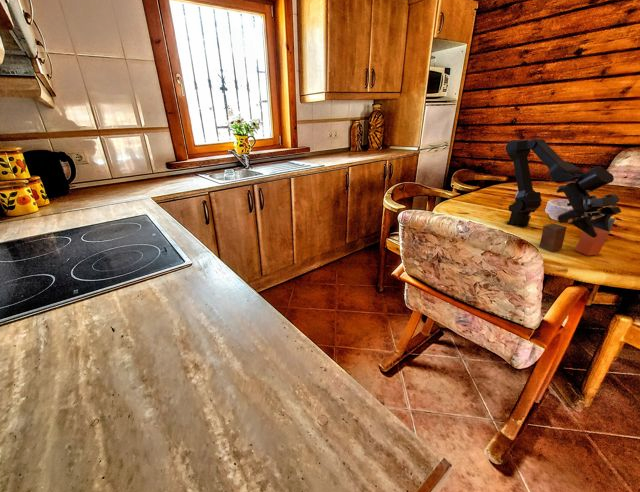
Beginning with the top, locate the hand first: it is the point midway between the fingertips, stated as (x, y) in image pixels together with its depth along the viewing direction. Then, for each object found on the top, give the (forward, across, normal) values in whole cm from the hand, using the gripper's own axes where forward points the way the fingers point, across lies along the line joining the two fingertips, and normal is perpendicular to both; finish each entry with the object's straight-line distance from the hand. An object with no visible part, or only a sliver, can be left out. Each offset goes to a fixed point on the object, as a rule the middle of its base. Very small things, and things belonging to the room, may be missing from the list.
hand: (600, 236), depth 97 cm
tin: (-31, +23, +42) cm, 57 cm away
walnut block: (0, -9, +11) cm, 14 cm away
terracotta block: (+4, 0, +7) cm, 8 cm away
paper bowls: (-16, +24, +27) cm, 40 cm away
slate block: (-2, +15, +13) cm, 20 cm away
